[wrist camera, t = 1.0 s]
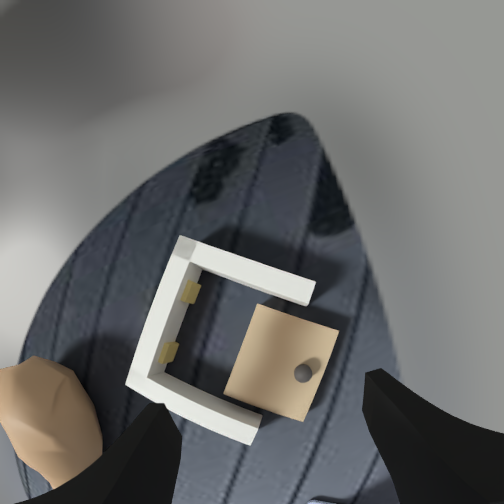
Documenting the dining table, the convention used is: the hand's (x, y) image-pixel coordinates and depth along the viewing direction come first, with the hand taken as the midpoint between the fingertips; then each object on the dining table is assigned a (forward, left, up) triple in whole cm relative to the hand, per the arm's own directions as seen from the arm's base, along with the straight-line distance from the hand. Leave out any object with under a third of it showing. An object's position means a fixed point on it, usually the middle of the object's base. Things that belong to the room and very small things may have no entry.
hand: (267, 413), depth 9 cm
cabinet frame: (+4, 0, -11) cm, 12 cm away
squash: (+15, +17, -12) cm, 25 cm away
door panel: (0, 0, -12) cm, 12 cm away
